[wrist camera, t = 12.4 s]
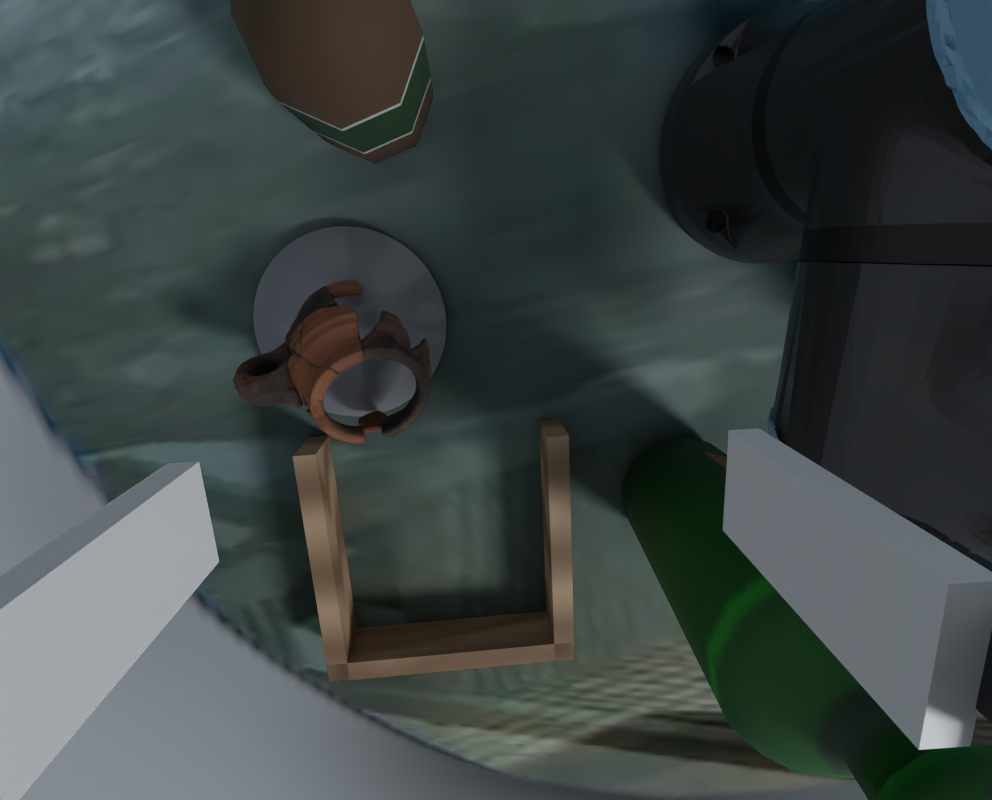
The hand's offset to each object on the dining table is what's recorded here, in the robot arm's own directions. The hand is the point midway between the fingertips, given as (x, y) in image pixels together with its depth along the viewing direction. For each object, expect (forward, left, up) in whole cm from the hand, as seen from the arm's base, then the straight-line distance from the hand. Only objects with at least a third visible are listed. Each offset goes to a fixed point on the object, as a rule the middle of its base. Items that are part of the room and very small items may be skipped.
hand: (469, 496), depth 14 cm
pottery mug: (-1, -9, -27) cm, 28 cm away
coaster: (-2, -8, -26) cm, 27 cm away
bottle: (+12, +15, -26) cm, 33 cm away
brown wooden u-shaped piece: (+15, -3, -26) cm, 31 cm away
